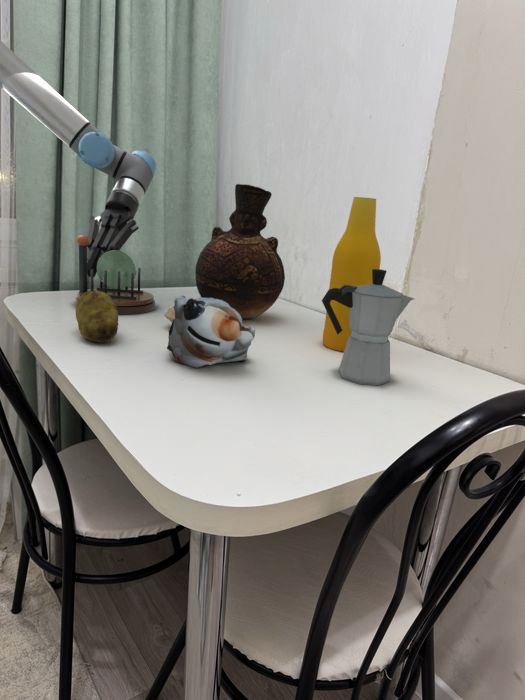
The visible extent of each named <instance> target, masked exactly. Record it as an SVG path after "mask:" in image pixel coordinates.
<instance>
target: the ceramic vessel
mask: <svg viewBox="0 0 525 700" xmlns="http://www.w3.org/2000/svg"><path fill="white" fill-rule="evenodd" d="M234 195H235V196H234V200H235V201H234V202H235V210H234V211H233V212H232V213H231V214H230V216H229V217H228V220H229V224H230V226H231V228H230V229H229V230H227V231H225V230H223V229H222V228H221V227H220V226H218V225H217V226H214V227H213V228H212V231H211V240H210V241H209V242H207V244H206V245H205V246H204V247H203V248H202V250H200V253H199V255H198V257H197V261H196V264H195V270H194V273H195V274H194V277H195V284H196V289H197V291H198V294H199V296H200V298H214V299H219V300H223V301H224V302H226V303H228V304H229V306H230V307H231V308H233V309H235V310H236V311H237V312H238V313H239V314H240V316H241V318H242V319H251V318H257V317H259V316H261V315H263V314H264V313H265V312H267V311H268V310H269V309H271V308H272V307H273V305H274V304H275V303H276V302H277V300H278V298H279V297H280V295H281V293H282V291H283V289H284V286H285V280H286V273H285V268H284V267H285V266H284V264H283V261H282V259H281V257H280V254H279V253H278V246H279V239H278V238H277V237H275V236H270V237H267V238H265V237H264V236H262V234H261V232H262V231H263V230H264V229H265V228H266V227H267V224H268V220H267V217H266V216H265V215H264V211H265V208H266V206H267V205H268V203H269V201H270V200H271V198H272V191H269V190H266V189H264V188H262V187H259V186H256V185H251V184H246V183H245V184H242V183H237V184H235V186H234Z"/></svg>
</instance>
